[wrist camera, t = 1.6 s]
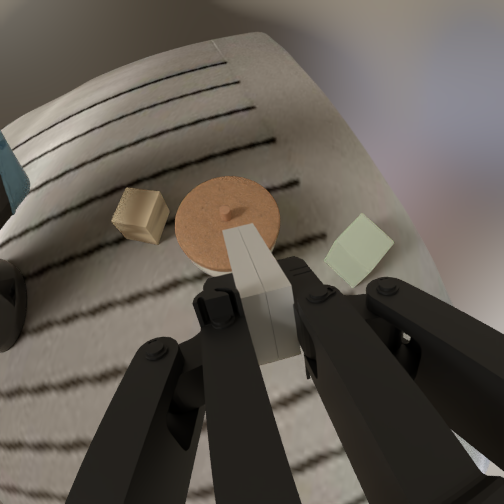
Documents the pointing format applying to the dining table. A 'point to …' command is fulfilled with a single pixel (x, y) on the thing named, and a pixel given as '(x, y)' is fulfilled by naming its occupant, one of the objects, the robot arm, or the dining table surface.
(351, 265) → the sage block
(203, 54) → the dining table surface
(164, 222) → the beech block
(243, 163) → the dining table surface
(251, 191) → the lidded jar
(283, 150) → the dining table surface
